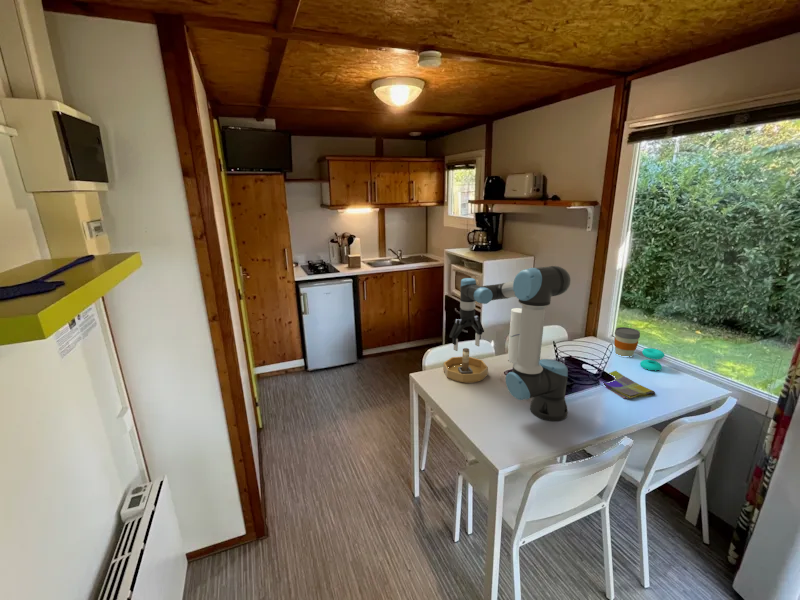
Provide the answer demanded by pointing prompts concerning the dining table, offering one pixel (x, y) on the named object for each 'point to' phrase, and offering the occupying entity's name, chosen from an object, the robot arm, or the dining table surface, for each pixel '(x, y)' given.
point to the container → (514, 334)
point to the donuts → (652, 354)
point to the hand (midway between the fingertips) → (466, 347)
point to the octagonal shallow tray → (473, 374)
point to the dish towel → (627, 387)
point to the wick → (465, 360)
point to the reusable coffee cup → (626, 341)
